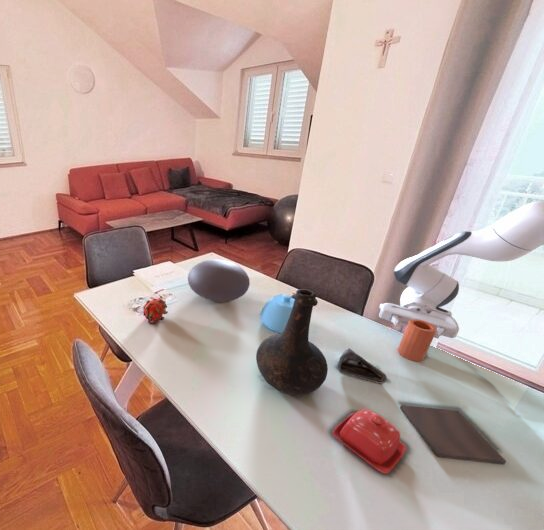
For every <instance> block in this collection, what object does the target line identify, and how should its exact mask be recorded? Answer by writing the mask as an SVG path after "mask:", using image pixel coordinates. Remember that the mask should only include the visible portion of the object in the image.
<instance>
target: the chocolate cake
mask: <svg viewBox="0 0 544 530" xmlns="http://www.w3.org/2000/svg"><path fill="white" fill-rule="evenodd" d="M337 371H338V372H339V373H340V374H342V375H345V376H349V377H352V378H356V379H359V380H360V379H361V380H363V381H368V382H372V383H376V384H382V385H383V384H385V383H386V382H387V380H388V376H387V375H386V373H385V372H384V371H381V370H380V369H378V368H377V367H376V366H374V365H373V364H371V363H370V362H369V361H368V360H366V359H365V358H363V357H362V356H361V355H359V354H358V353H356V352H355V351H354V350H353V349H351V348H350V347H347V348H346V349H345V350H344V351H343V353H341V356H340V357H339V359H338V364H337Z"/></svg>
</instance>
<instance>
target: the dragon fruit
mask: <svg viewBox="0 0 544 530" xmlns="http://www.w3.org/2000/svg"><path fill="white" fill-rule="evenodd" d="M167 308H168V306H167V304H166V301H165V300H164V299H162V298H161V297H158V298H155V297H153V298H152V299H151V300H150V299H149V300H146V303H145V304H144V306H143V307H142V309H143V310H142V311H143V316H144V318H145V319H146V320H147V323H149V324H150V323H156V321H157V320H158V321H163V320H164V319H165V317H164V316H163V315H167V314H168V313H169V311H167Z"/></svg>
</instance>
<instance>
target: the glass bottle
mask: <svg viewBox="0 0 544 530" xmlns="http://www.w3.org/2000/svg"><path fill="white" fill-rule="evenodd" d="M290 296H291V297H292V298H293V299H295V301H294V304H293V307H292V311H291V314H290V316H289V319H288V322H287V324H286V326H285V329H284V331H283V332H282V333H277V334H273V335H270V336H268V337H267V338H265V339H264V340H263V341H262V342H261V343H260V344H259V345H258V347H257V350H256V354H255V355H256V356H255V360H256V365H257V368H258V371H259V373H260V376H261V377H262V378H263V379H264V381H265V382H266V383H267V384H268V385H269V386H270V387H272V388H274V389H275V390H277V391H279V392H281V393H284V394H287V395H291V396H302V395H303V396H304V395H308V394H311V393H313V392H315V391H317V390H318V389H320V388H321V386H322V385H323V384H324V383H325V381H326V379H327V377H328V371H329V367H328V362H327V359H326V357H325V355H324V353H323V352H322V351H321V350H320V348H319V347H317V345H316V344H314V343H312V342H311V341H310V340H309V336H310V335H309V334H310V325H311V319H312V314H313V309H314V307H317V306H318V303H319V301H318V299H317V296H318V295H317V293H316V292H314V291H312V290H309V289H305V288H300V289H297V290H296V292H295V293H294V294H292V295H290Z"/></svg>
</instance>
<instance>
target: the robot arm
mask: <svg viewBox="0 0 544 530" xmlns="http://www.w3.org/2000/svg"><path fill="white" fill-rule="evenodd" d="M543 245H544V200H537V201H532V202H529V203H526V204H525V205H522V206H521V207H519V208H517V209H515V210H513V211H511V212H509V213H508V214H506V215H505V216H503V217H501V218H500V219H498V220H497V221H495V222H494V223H492V224H491V225H489V226H487V227H485V228H481V229H478V230H474V231H473V230H472V231H466V230H465V231H464V230H463V231H461V232H458V233H455V234H453V235H451V236H449V237H447V238H445V239H443V240H441V241H440V242H437V243H436V244H434V245H432V246H430V247H428V248H427V249H424V250H423V251H421V252H419V253H417V254H415V255H412V256H410V257H406V258H405V259H404V260H401V261H400V262H399V263H398V264H397V265H396V266H395V267H394V269H393V274H394V278H395V280H396V281H397V282H399V283H401V284H403V285H405V286H407V287H406V288H405V289H404V290H403V291H402V293H401V295H400V297H399V304H396V303H391V302H385V303H380V304H379V306H378V307H379V309H380V310H379V313H378V317H379V318H380V319H381V320H385V321H388V322H391V323H392V324H393V325H394V327H396V328H402V325H404V326H406V327H407V325H408V323H409V321H410V320H411V319H418V320H423V321H426V322H428V323H431V324H432V325H434V326H435V327H436V328H437V331H436V333H435V335H434V338H435V339H439V338H440V337H442V336H443V337H447V338H450V339H455V338H457V336H458V334H459V331H460V326H459V324H458V322H457V320H456V319H455V318H454V317H453V313H452V311H449V310H448V309H444V308H441V307H444V306H446V305H448V304H450V303H451V302H452V301H453V300H455V299H456V297H457V296H458V295H459V290H460V285H459V281H458V280H457V279H455V278H454V277H451V276H450V275H448V274H446V273H444V272H442V271H440V270H438V269H437V268H435V267H433V266H432V264H433V263H436V262H437V261H439V260H442V259H443V258H445V257H448V256H452V255H460V256H467V257H473V258H476V259H480V260H484V261H490V262H496V263H497V262H498V263H499V262H500V263H501V262H512V261H514V260H517V259H520V258H522V257H524V256H526V255H528V254H530V253H531V252H533V251H534V250H536V249H538V248H540V247H541V246H543ZM434 338H433V339H434Z"/></svg>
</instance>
